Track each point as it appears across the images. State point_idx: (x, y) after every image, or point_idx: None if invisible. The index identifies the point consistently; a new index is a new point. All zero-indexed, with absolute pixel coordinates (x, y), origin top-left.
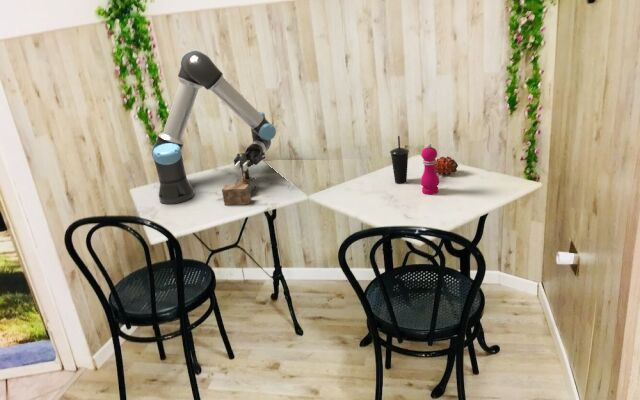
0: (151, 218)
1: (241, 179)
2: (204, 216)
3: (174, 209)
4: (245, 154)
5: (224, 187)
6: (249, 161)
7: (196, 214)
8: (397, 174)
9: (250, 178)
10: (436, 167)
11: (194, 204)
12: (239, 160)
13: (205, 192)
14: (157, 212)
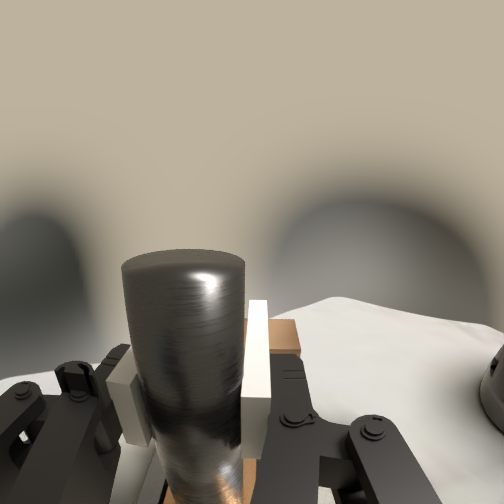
0: (454, 321)
1: (248, 476)
2: (318, 332)
3: (452, 352)
4: (129, 265)
5: (292, 331)
6: (106, 401)
7: (354, 339)
8: None
9: (167, 491)
10: None
11: (423, 382)
12: (273, 413)
13: (484, 469)
14: (475, 338)
